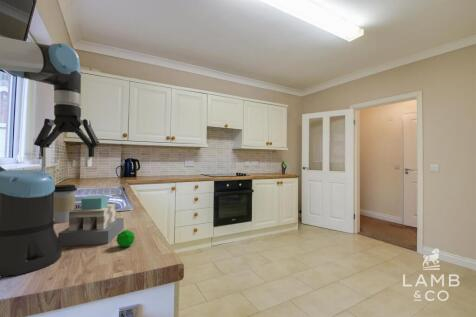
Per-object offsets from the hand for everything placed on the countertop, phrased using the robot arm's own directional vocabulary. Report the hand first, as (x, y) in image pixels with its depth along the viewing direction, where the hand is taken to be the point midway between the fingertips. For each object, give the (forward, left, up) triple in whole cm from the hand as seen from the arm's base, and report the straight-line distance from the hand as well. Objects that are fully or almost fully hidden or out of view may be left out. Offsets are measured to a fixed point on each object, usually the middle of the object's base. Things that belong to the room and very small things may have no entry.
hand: (68, 166), depth 81 cm
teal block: (-3, -10, -14) cm, 17 cm away
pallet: (-3, -10, -20) cm, 22 cm away
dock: (-3, -10, -24) cm, 26 cm away
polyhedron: (-14, -23, -24) cm, 36 cm away
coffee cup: (+20, +11, -24) cm, 33 cm away
